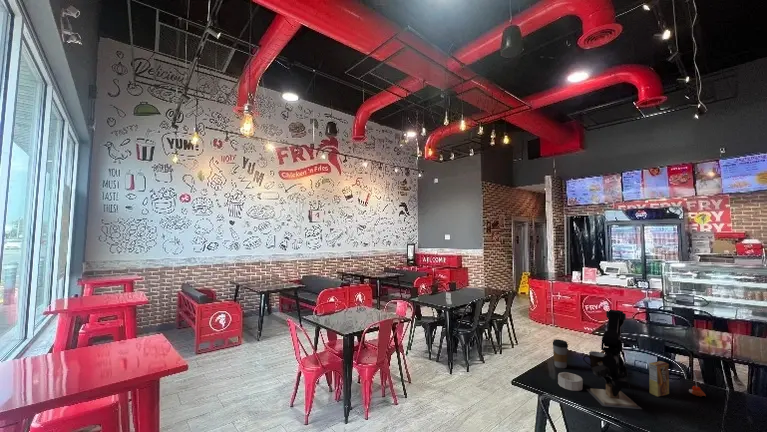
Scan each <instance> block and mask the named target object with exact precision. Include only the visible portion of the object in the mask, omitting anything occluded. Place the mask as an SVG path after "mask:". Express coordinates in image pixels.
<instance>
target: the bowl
mask: <svg viewBox="0 0 767 432" xmlns="http://www.w3.org/2000/svg"><path fill="white" fill-rule="evenodd" d="M583 381H584V379H583V378H582V376H580V375H578V374H575V373H571V372H566V371H563V372H559V373H558V374H557V384H558V385H559V387H561V388H563V389H565V390H568V391H574V392H579V391H582V390H583V387H584V386H583V385H584V384H583V383H584V382H583Z"/></svg>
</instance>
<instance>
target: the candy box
mask: <svg viewBox="0 0 767 432" xmlns="http://www.w3.org/2000/svg"><path fill="white" fill-rule="evenodd" d="M648 365H649V366H648V367H649V368H648V369H649V370H648V371H649V372H648V373H649V381H648V383H649V394H650V395H653V396H655V397H662V396H667V395H669V394H670V377H669V376H670V364H669V363H667V362H665V361H661V360H658V361H654V362H649V363H648Z"/></svg>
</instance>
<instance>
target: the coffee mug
mask: <svg viewBox="0 0 767 432" xmlns="http://www.w3.org/2000/svg"><path fill="white" fill-rule="evenodd" d="M604 354H605V352H604V353H603V352H600V351H596V350H595V351H593V350H591V351H589V352H588V355H584V356H583V358H582V360H583V361H584V362H585V363H586V364H587V365H589V366H590V368H591V371H592V372H593V370H592V367H595V366H599V365H602V363H603V362H602V358H603V356H604ZM587 357H588V359H589V361H590V362H589V363H588V362H587V360H585V358H587Z"/></svg>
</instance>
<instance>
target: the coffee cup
mask: <svg viewBox="0 0 767 432" xmlns="http://www.w3.org/2000/svg"><path fill="white" fill-rule="evenodd" d="M568 348H569V344H568V341H566V340H564V339H553V341H552V351H553V352H552V354H553V362H554V363H553V364H554V366H555V367H556V368H557V369H566V368H567V366H568V365H567V363H568V350H569V349H568Z"/></svg>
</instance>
